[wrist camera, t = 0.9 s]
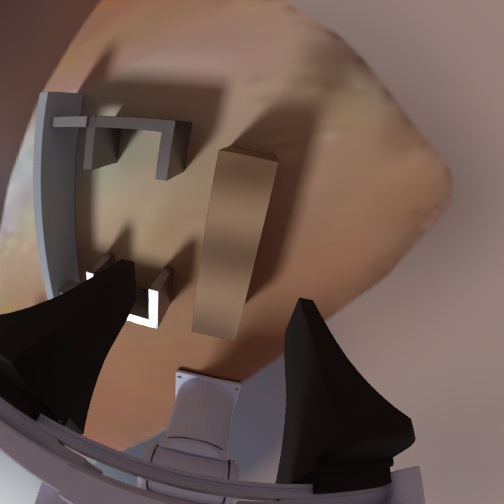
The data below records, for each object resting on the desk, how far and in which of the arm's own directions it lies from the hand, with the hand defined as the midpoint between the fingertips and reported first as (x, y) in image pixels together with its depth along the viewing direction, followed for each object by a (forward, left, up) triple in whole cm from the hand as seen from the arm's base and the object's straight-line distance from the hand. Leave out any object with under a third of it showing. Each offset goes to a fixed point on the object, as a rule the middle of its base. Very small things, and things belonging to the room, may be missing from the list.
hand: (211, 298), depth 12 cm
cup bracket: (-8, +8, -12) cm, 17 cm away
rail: (-2, 0, -12) cm, 12 cm away
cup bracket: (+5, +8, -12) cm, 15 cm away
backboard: (-2, +14, -12) cm, 19 cm away
